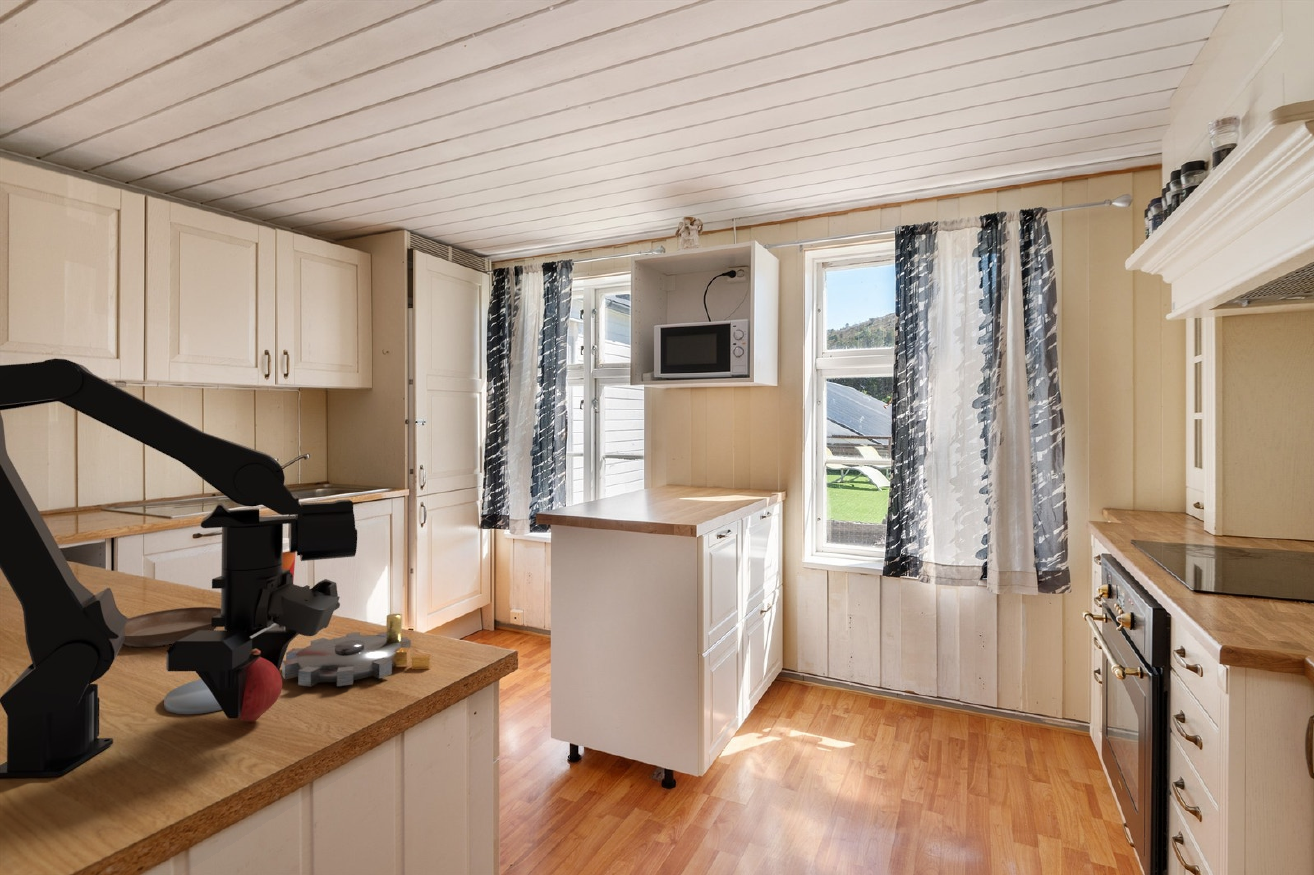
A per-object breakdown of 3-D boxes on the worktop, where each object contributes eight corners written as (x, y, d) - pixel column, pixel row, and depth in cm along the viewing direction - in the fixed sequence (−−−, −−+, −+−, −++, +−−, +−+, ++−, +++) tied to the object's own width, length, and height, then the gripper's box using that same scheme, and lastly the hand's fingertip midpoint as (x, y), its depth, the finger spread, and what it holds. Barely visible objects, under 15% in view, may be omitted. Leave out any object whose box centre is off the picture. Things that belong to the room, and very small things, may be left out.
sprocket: (436, 655, 90) (437, 617, 90) (337, 696, 76) (338, 651, 76) (358, 637, 97) (359, 602, 97) (254, 672, 83) (255, 631, 83)
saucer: (81, 647, 93) (81, 629, 93) (178, 619, 108) (178, 603, 108) (160, 657, 90) (160, 638, 90) (249, 626, 104) (250, 610, 104)
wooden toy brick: (421, 679, 83) (421, 666, 83) (304, 679, 83) (304, 667, 83) (439, 657, 91) (439, 646, 91) (332, 657, 91) (332, 646, 91)
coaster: (234, 713, 72) (234, 706, 72) (142, 714, 72) (142, 707, 72) (280, 679, 82) (280, 673, 82) (200, 679, 82) (200, 673, 82)
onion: (251, 737, 67) (252, 661, 67) (205, 731, 68) (206, 656, 68) (293, 713, 73) (294, 643, 73) (250, 708, 74) (251, 639, 74)
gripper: (282, 586, 62) (281, 746, 62) (361, 549, 80) (359, 673, 80) (163, 585, 61) (161, 747, 61) (270, 549, 80) (268, 673, 80)
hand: (251, 705), depth 71 cm, fingers closed on onion, 6 cm apart
